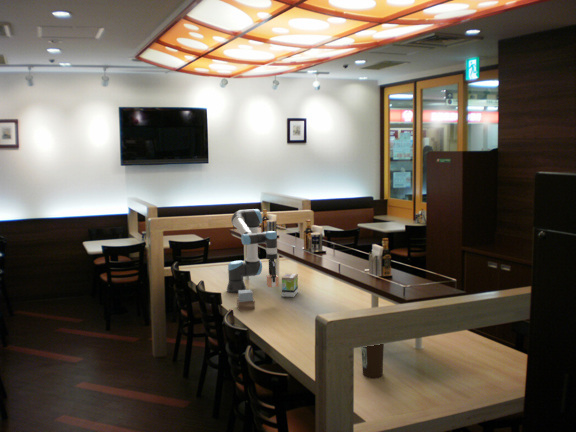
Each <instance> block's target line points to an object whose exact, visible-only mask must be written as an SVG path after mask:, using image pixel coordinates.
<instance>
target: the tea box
mask: <svg viewBox="0 0 576 432" xmlns="http://www.w3.org/2000/svg"><path fill="white" fill-rule="evenodd" d="M298 275H299V274H298V273H285V274H283V276H282V277H281V297H285V298H286V297H287V298H294V297H295V296H296V295H297V294H298V292H299V276H298Z"/></svg>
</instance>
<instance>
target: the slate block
mask: <svg viewBox="0 0 576 432" xmlns="http://www.w3.org/2000/svg"><path fill="white" fill-rule="evenodd" d="M237 296H238V297H237V298H238V299H239V301H240V302H246V301H253V299H254V292H253V291H252V288H250V289H246V290H238V293H237Z"/></svg>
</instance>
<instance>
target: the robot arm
mask: <svg viewBox="0 0 576 432" xmlns="http://www.w3.org/2000/svg"><path fill="white" fill-rule="evenodd" d="M262 223H263V216H262V213H261V210H260V209H258V208H255V209H254V208H252V209H239V210H237V211H235V212H234V213H233V214H232V217H231V224H232V225H233V226H234V227H235V228H236V230H238V232H239V233H240V235H241V237H240V242H241V244H242V245H246V258H245V259H244V262H243V260H241V259H240V260H234V261H230V262H229V263H228V266H227V270H228V272H227V274H228V282H227V283H228V284H227V285H226V291H227V292H228V293H233V294H235V293H236V294H238V290H247V286H246V283H245V282H244V278H245V277H255V276H259V275H260V274H262V270H263V262H262V261H261V259H260V258H259V254H258V253H259V252H258V251H259V250H258V248H259V247H258V245H259V244H265V247H266V248H265V252H266V260H268V261H267V262H268V275H272V277H271V278H272V287H271V288H276V287H275V286H276V275H277V266H276V265H277V263H276V261H275V260H277V259H278V236H277V231H275V230H274V231H273V230H269V231H263V232H259V230H258V229H259V228H260V227H261V226H260V225H261V224H262ZM274 275H275V276H274Z"/></svg>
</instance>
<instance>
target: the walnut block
mask: <svg viewBox="0 0 576 432" xmlns="http://www.w3.org/2000/svg"><path fill="white" fill-rule="evenodd" d="M255 303H256V302H255V300H254V298H253V301H246V302H240V301H239V299H238V297H237V298H236V306H237V309H238V311H240V312H241V311H250V310H251V311H253V310H255V309H256V307H255V305H256V304H255Z"/></svg>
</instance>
